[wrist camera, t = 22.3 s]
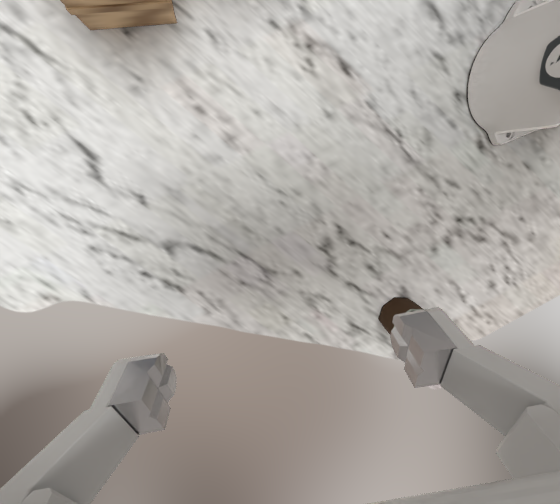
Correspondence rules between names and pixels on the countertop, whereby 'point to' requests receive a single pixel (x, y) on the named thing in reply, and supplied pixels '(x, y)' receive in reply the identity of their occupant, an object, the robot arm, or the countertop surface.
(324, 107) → the countertop surface
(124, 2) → the oak crate
